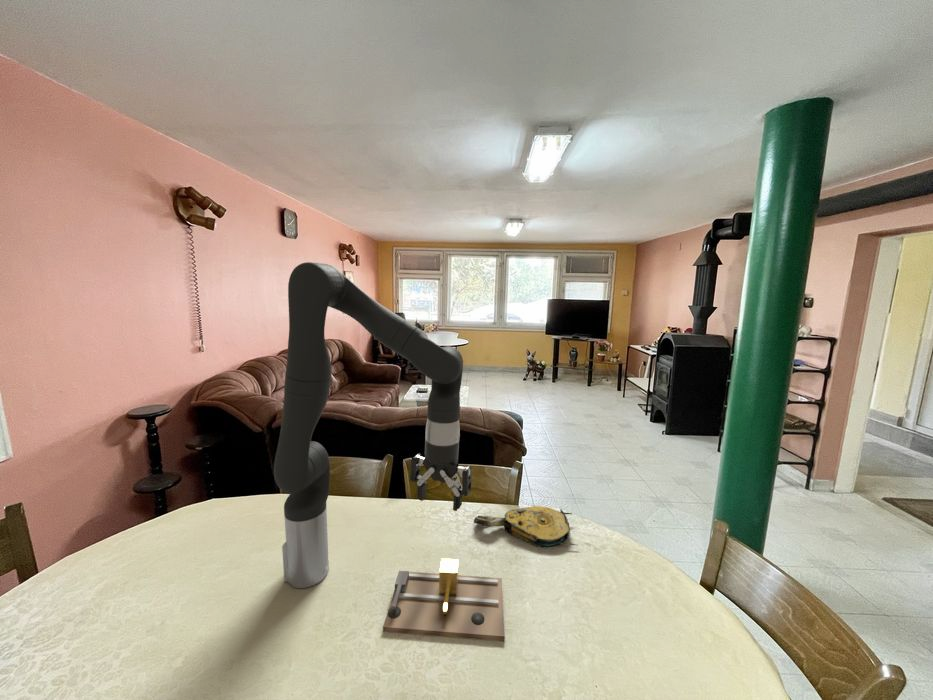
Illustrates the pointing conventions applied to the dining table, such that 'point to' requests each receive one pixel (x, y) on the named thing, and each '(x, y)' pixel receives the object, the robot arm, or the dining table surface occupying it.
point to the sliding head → (448, 580)
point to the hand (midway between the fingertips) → (439, 503)
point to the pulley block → (533, 525)
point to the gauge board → (466, 613)
